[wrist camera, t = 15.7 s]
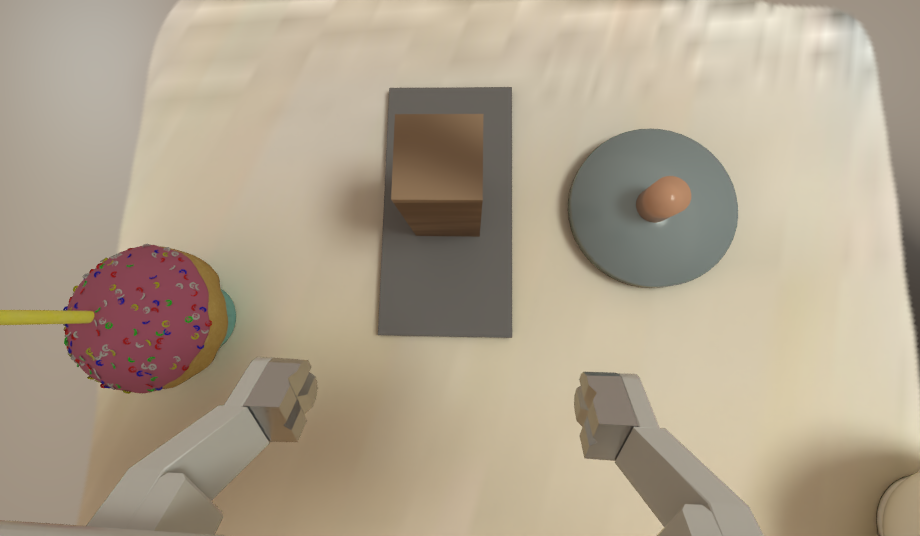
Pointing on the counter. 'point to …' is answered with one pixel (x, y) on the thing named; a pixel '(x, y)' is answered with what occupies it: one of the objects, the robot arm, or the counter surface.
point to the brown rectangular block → (439, 173)
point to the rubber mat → (452, 257)
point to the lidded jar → (900, 508)
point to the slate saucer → (643, 239)
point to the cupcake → (142, 319)
